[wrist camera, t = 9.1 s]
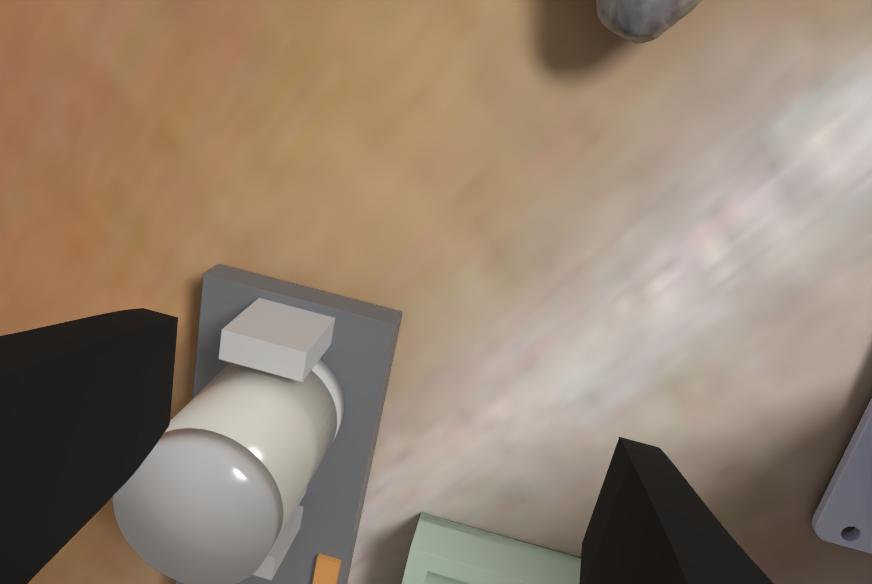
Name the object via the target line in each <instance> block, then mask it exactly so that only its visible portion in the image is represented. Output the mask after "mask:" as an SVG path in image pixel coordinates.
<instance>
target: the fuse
mask: <svg viewBox="0 0 872 584" xmlns="http://www.w3.org/2000/svg"><path fill="white" fill-rule="evenodd" d="M344 414H345V400H344V395H343V391H342V388H341V386H340V383H339V381H338V379H337V378H336V376H335V374H334V373H333V371H332V370H331V369H330V368H329V367H328V365H327V364H326V363H325V362H324V361H323V360H322V359H319V361H318V362H317V363H316V365H315V366H314V367H313V369H312V370H311V371H310V372H309V374H308V375H307V376H306V378H305V379H304V380H303V382H301V381H297V380H293V379H290V378H286V377H283V376H279V375H275V374H272V373H268V372H264V371H261V370H257V369H253V368H250V367H246V366H242V365H239V364H235V363H231V362H230V363H229V364H228V365H227V366H226V367H225V368H224V369H223V370H222V371H221V372H220V373H219V374H218V375H217V376H216V377H215V378H214V379H213V380H212V381H211V382H209V383H208V384H207V385H206V386H205V387H204V388H203V389H202V390H201V391H200V392H199V393H198V394H197V395H196V396H195V397H194V398H193V399H192V400H191V401H190V402H189V403H188V404H187V405H186V406H185V407H184V408H183V409H182V410H181V411H180V412H179V413H178V414H177V415H176V416H175V417H174V418H173V419H172V420H171V421H170V425H169V427H168V428H167V430H166V431H165V432H164V434H163V435H162V437H161V438H160V440H159V441H158V442H157V444H156V445H155V447H154V448H153V450H152V451H151V452H150V454H149V455H148V456H147V458H146V459H145V460H144V462H143V463H142V464H141V465H140V467H139V468H138V469H137V471H136V472H135V473H134V474H133V475H132V476H131V478H130V479H129V480H128V481H127V482H126V483H125V484H124V485H123V486H122V487H121V488H120V489H119V490H118V491H117V492H116V493H115V494H114V495H113V509H114V515H115V518H116V521H117V524H118V526H119V528H120V531H121V533H122V534H123V536H124V538H125V539H126V541H127V542H128V544H129V545H130V546H131V548H132V549H133V550H134V551H135V552H136V553H137V554H138V556H139V557H140V558H142V559H143V560H144V561H145V562H146V563H147V564H148V565H150V566H151V567H153V568H154V569H155V570H157V571H158V572H160V573H162V574H163V575H165V576H167V577H169V578H171V579H174V580H176V581H179V582H182V583H184V584H236V583H239V582H241V581H243V580H245V579H247V578H248V577H250V576H251V575H252V574H253V573H255V572H256V571H257V569H258V568H259V567H260V566H261V565H262V563H263V561H264V560H265V558H266V556H267V555H268V553H269V551H270V550H271V548H272V546H273V544H274V543H275V541H276V539H277V537H278V536H279V534H280V532H281V530H282V529H283V527H284V525H285V524H286V522H287V520H288V518H289V517H290V515H291V513H292V511H293V510H294V508H295V506H296V504H297V503H298V501H299V499H300V498H301V496H302V494H303V492H304V491H305V489H306V487H307V485H308V484H309V482H310V480H311V478H312V477H313V475H314V473H315V472H316V470H317V468H318V466H319V465H320V463H321V461H322V459H323V458H324V456H325V454H326V452H327V451H328V449H329V447H330V446H331V444H332V442H333V440H334V439H335V437H336V435H337V433H338V432H339V430H340V428H341V425H342V423H343V419H344Z"/></svg>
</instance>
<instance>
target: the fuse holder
mask: <svg viewBox="0 0 872 584" xmlns="http://www.w3.org/2000/svg"><path fill="white" fill-rule="evenodd" d="M401 317H402V312H401V311H397V310H393V309H389V308H385V307H382V306H378V305H374V304H370V303H366V302H362V301H359V300H355V299H351V298H347V297H343V296H340V295H336V294H332V293H328V292H324V291H320V290H317V289H313V288H309V287H305V286H301V285H297V284H294V283H290V282H286V281H282V280H278V279H275V278H271V277H267V276H263V275H259V274H255V273H252V272H248V271H244V270H240V269H236V268H232V267H229V266H225V265H221V264H218V265H216V266H215V267H213V268H212V269H210V270H209V271H207V272H206V273H204V276H203V287H202V298H201V309H200V320H199V331H198V342H197V353H196V364H195V375H194V386H193V397H192V399H193V398H194V397H195V396H196V395H197V394H198V393H199V392H200V391H201V390H202V389H203V388H204V387H205V386H206V385H207V384H208V383H209V382H211V381H212V380H213V379H214V378H215V377H216V376H217V375H218V374H219V373H220V372H221V371H222V370H223V369H224V368H225V367H226V366H227V365H228V364H229V363H230V362H231V363H235V364H239V365H242V366H246V367H250V368H253V369H257V370H261V371H264V372H268V373H272V374H275V375H279V376H283V377H286V378H290V379H293V380H297V381H301V382H303V380H304V379H305V378H306V376H307V375H308V374H309V372H310V371H311V370H312V369H313V367H314V366H315V365H316V363H317V362H318V361H319V359H322V360H323V361H324V362H325V363H326V364H327V365H328V367H329V368H330V369H331V370H332V371H333V373H334V374H335V376H336V378H337V379H338V381H339V383H340V386H341V388H342V391H343V395H344V400H345V414H344V419H343V423H342V425H341V428H340V430H339V432H338V433H337V435H336V437H335V439H334V440H333V442H332V444H331V446H330V447H329V449H328V451H327V452H326V454H325V456H324V458H323V459H322V461H321V463H320V465H319V466H318V468H317V470H316V472H315V473H314V475H313V477H312V478H311V480H310V482H309V484H308V485H307V487H306V489H305V491H304V492H303V494H302V496H301V498H300V499H299V501H298V503H297V504H296V506H295V508H294V510H293V511H292V513H291V515H290V517H289V518H288V520H287V522H286V524H285V525H284V527H283V529H282V530H281V532H280V534H279V536H278V537H277V539H276V541H275V543H274V544H273V546H272V548H271V550H270V551H269V553H268V555H267V556H266V558H265V560H264V561H263V563H262V565H261V566H260V567H259V568H258V569H257V571H256V572H255V573H253V574H252V575H251V576H250V577H248V578H247V579H245V580H243V581H241V582H239V583H236V584H347V581H348V576H349V571H350V566H351V562H352V557H353V552H354V547H355V542H356V537H357V532H358V527H359V522H360V518H361V513H362V508H363V503H364V498H365V493H366V488H367V483H368V478H369V474H370V469H371V464H372V459H373V454H374V449H375V444H376V439H377V434H378V430H379V425H380V420H381V415H382V410H383V405H384V400H385V395H386V390H387V386H388V381H389V376H390V371H391V366H392V361H393V356H394V351H395V347H396V342H397V337H398V332H399V327H400V322H401ZM176 584H184V583H182V582H179V581H176Z"/></svg>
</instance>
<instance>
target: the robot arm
mask: <svg viewBox="0 0 872 584" xmlns="http://www.w3.org/2000/svg"><path fill="white" fill-rule="evenodd" d="M177 323H178V318H177V317H174V316H170V315H166V314H162V313H159V312H155V311H151V310H148V309H144V308H140V309H130V310H123V311H117V312H111V313H106V314H101V315H96V316H92V317H87V318H82V319H78V320H73V321H69V322H64V323H60V324H55V325H51V326H46V327H42V328H37V329H33V330H28V331H23V332H19V333H14V334H9V335H4V336H0V584H28V582H29V581H30V580H31V579H32V578H33V577H34V576H35V575H36V574H37V573H38V572H39V571H40V570H41V569H42V568H43V567H44V566H45V565H46V564H47V563H48V562H49V561H50V560H51V559H52V558H53V557H54V556H55V555H56V554H57V553H58V551H59V550H60V549H61V548H62V547H63V546H64V545H65V544H66V543H67V542H68V541H69V540H70V539H71V538H72V537H73V536H74V535H75V534H76V533H77V532H78V531H79V530H80V529H81V528H82V527H83V526H84V525H85V524H86V523H87V522H88V521H89V520H90V519H91V518H92V517H93V516H94V515H95V514H96V513H97V512H98V511H99V510H100V509H101V508H102V507H103V506H104V505H105V504H106V503H107V502H108V501H109V499H110V498H111V497H112V496H113V495H114V494H115V493H116V492H117V491H118V490H119V489H120V488H121V487H122V486H123V485H124V484H125V483H126V482H127V481H128V480H129V479H130V478H131V476H132V475H133V474H134V473H135V472H136V471H137V469H138V468H139V467H140V465H141V464H142V463H143V462H144V460H145V459H146V458H147V456H148V455H149V454H150V452H151V451H152V450H153V448H154V447H155V445H156V444H157V442H158V441H159V440H160V438H161V437H162V435H163V434H164V432H165V431H166V430H167V428H168V427H169V425H170V412H171V400H172V387H173V374H174V362H175V349H176V336H177ZM812 526H813V529H814V531H815V533H816V534H817V535H818V537H819V538H820V539H822V540H825V541H827V542H831V543H834V544H838V545H841V546H845V547H849V548H852V549H856V550H859V551H863V552H867V553H870V554H872V398H871V400H870V402H869V404H868V406H867V408H866V410H865V412H864V414H863V416H862V418H861V420H860V422H859V424H858V426H857V428H856V430H855V432H854V435H853V437H852V439H851V441H850V443H849V445H848V447H847V449H846V451H845V453H844V455H843V457H842V459H841V461H840V463H839V465H838V467H837V469H836V471H835V473H834V475H833V477H832V479H831V481H830V483H829V485H828V487H827V489H826V491H825V493H824V496H823V498H822V500H821V502H820V504H819V506H818V508H817V510H816V512H815V514H814V516H813V519H812ZM849 526H851V527H855V528H854V530H853V531H851V532H848V533H843V532H841V531H842V530H843V529H844V528H846V527H849ZM579 584H773V583H772V581H771V580H770V579H769V578H768V577H767V576H766V575H765V574H764V573H763V572H762V571H761V569H760V568H759V567H758V566H757V565H756V564H755V563H754V562H753V561H752V560H751V559H750V557H749V556H748V555H747V554H746V553H745V552H744V551H743V549H742V548H741V547H740V546H739V545H738V544H737V543H736V541H735V540H734V539H733V538H732V537H731V535H730V534H729V533H728V532H727V531H726V529H725V528H724V527H723V526H722V525H721V523H720V522H719V521H718V520H717V519H716V517H715V516H714V515H713V514H712V512H711V511H710V510H709V509H708V507H707V506H706V505H705V504H704V502H703V501H702V500H701V499H700V497H699V496H698V495H697V493H696V492H695V491H694V490H693V488H692V487H691V486H690V484H689V483H688V482H687V481H686V479H685V478H684V477H683V476H682V474H681V473H680V472H679V470H678V469H677V468H676V467H675V465H674V464H673V463H672V462H671V460H670V459H669V458H668V457H667V456H666V454H665V453H664V452H663V451H662V450H661V449H660V448H658V447H655V446H651V445H647V444H643V443H640V442H636V441H632V440H629V439H625V438H621V437H619V440H618V443H617V446H616V448H615V451H614V454H613V457H612V460H611V463H610V466H609V468H608V471H607V474H606V477H605V480H604V483H603V485H602V488H601V491H600V494H599V497H598V500H597V503H596V505H595V508H594V511H593V514H592V517H591V520H590V522H589V525H588V528H587V531H586V534H585V537H584V540H583V542H582V554H581V567H580V582H579Z"/></svg>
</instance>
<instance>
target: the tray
mask: <svg viewBox="0 0 872 584" xmlns="http://www.w3.org/2000/svg"><path fill="white" fill-rule="evenodd" d="M580 567H581V558H578V557H574V556H571V555H567V554H564V553H560V552H557V551H553V550H550V549H546V548H543V547H539V546H536V545H532V544H529V543H525V542H522V541H518V540H515V539H511V538H508V537H504V536H501V535H498V534H494V533H491V532H487V531H484V530H480V529H477V528H473V527H470V526H466V525H463V524H459V523H456V522H452V521H449V520H445V519H442V518H438V517H435V516H431V515H428V514H424V513H421V515H420V518H419V521H418V525H417V528H416V531H415V534H414V538H413V541H412V544H411V547H410V551H409V555H408V560H407V564H406V568H405V572H404V576H403V580H402V584H579V582H580Z"/></svg>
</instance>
